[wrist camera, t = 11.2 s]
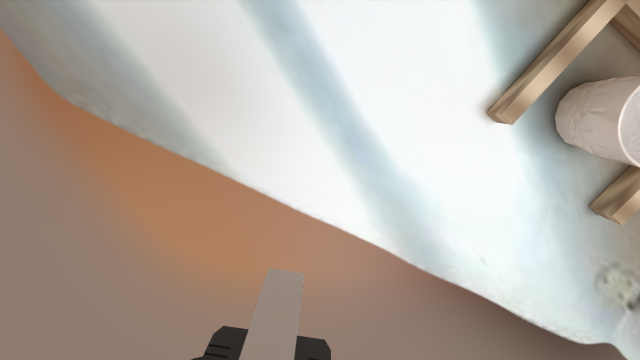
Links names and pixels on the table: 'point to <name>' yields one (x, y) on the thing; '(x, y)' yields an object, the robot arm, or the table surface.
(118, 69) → the table surface
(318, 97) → the table surface
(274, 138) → the table surface
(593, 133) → the white cup
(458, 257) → the table surface
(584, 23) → the corral
